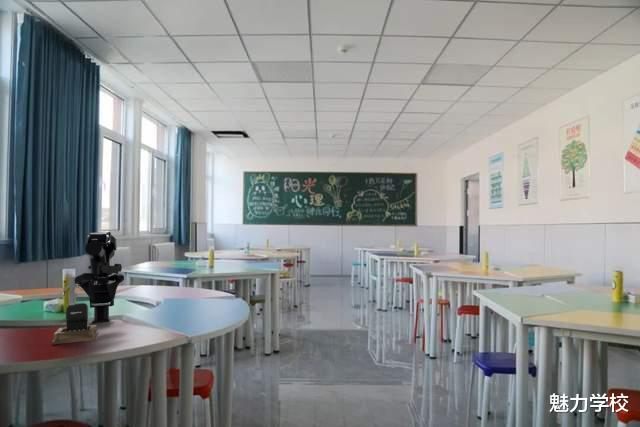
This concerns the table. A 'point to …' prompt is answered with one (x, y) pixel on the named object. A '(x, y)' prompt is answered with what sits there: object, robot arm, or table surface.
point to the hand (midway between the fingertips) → (103, 299)
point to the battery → (77, 317)
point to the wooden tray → (74, 335)
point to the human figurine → (72, 290)
